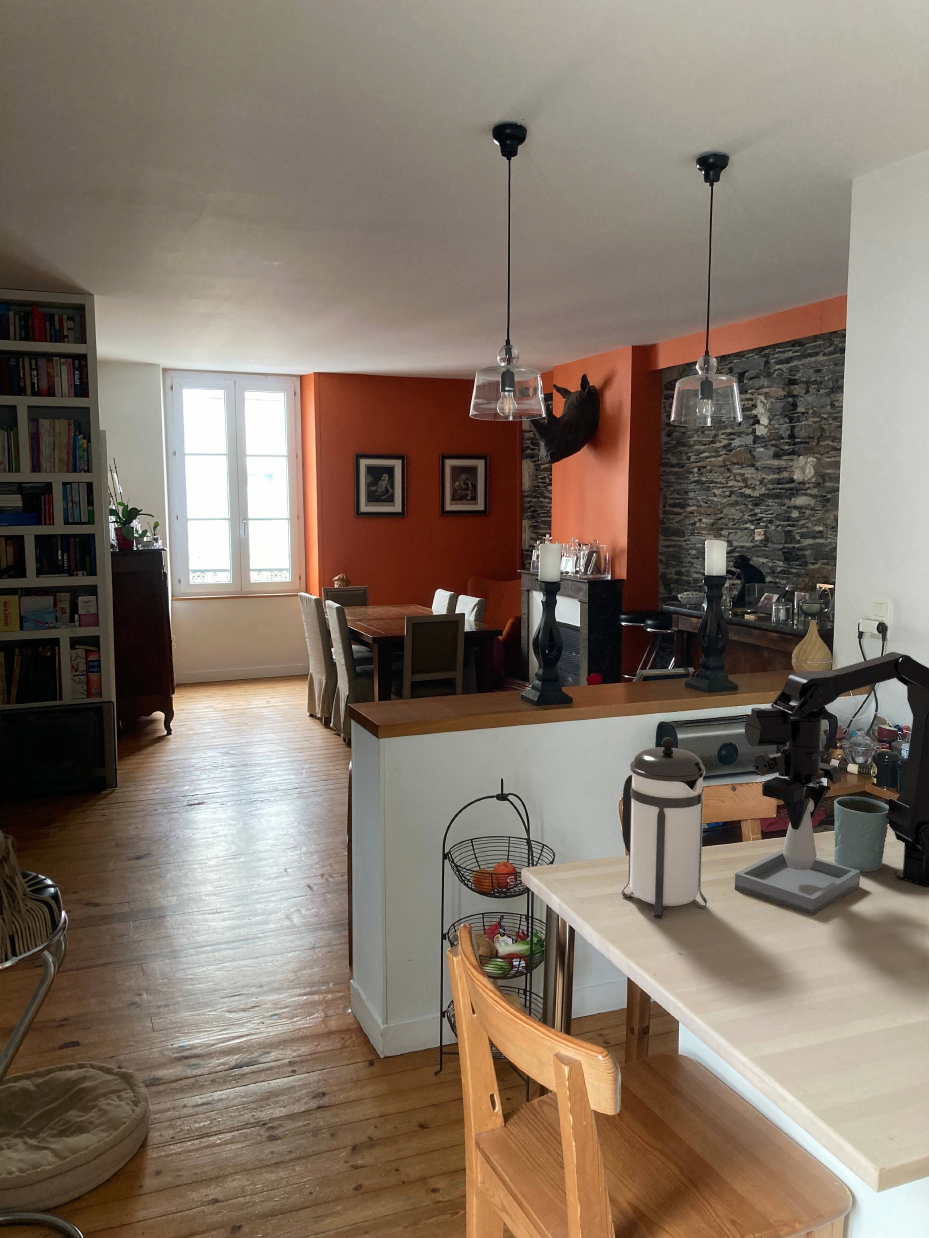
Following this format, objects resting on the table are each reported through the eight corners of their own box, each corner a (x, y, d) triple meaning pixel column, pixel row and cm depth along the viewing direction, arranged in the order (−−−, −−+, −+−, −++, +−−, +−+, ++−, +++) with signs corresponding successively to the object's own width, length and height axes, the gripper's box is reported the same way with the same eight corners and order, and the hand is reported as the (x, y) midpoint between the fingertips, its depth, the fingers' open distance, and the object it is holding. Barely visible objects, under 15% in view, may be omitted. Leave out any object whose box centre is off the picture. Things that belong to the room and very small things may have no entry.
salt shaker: (818, 873, 164) (821, 803, 163) (784, 870, 165) (787, 801, 164) (812, 860, 170) (815, 793, 168) (780, 858, 171) (782, 791, 170)
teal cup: (825, 852, 185) (828, 795, 184) (878, 854, 184) (881, 797, 183) (839, 871, 176) (842, 811, 174) (894, 874, 174) (898, 814, 173)
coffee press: (714, 890, 167) (720, 730, 163) (698, 926, 153) (703, 752, 149) (622, 874, 174) (625, 721, 171) (598, 908, 160) (600, 741, 156)
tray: (783, 863, 180) (784, 848, 179) (859, 886, 169) (860, 870, 168) (734, 888, 168) (735, 873, 167) (812, 915, 157) (813, 899, 156)
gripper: (788, 726, 177) (785, 804, 179) (736, 744, 165) (733, 827, 166) (844, 737, 169) (840, 818, 171) (794, 756, 156) (790, 844, 158)
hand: (800, 826), depth 167 cm, fingers closed on salt shaker, 4 cm apart
